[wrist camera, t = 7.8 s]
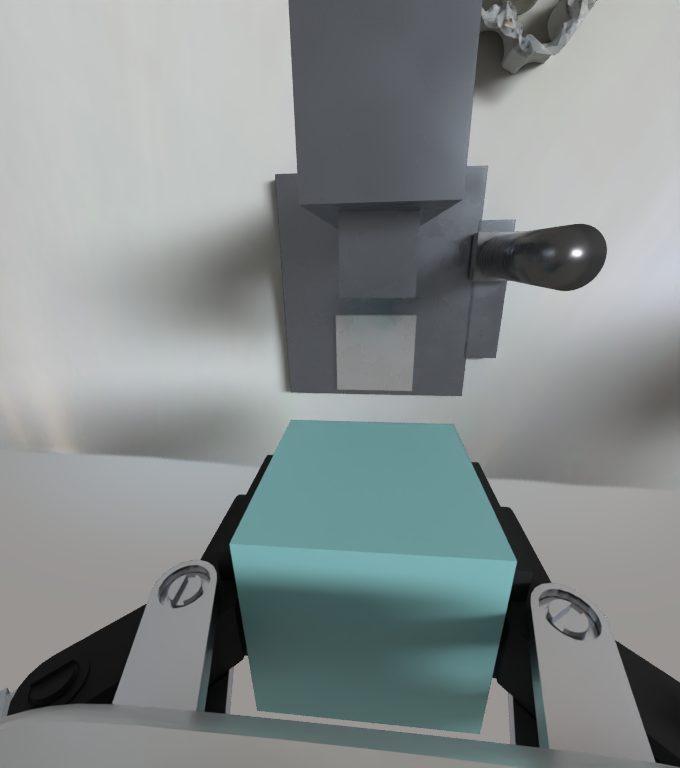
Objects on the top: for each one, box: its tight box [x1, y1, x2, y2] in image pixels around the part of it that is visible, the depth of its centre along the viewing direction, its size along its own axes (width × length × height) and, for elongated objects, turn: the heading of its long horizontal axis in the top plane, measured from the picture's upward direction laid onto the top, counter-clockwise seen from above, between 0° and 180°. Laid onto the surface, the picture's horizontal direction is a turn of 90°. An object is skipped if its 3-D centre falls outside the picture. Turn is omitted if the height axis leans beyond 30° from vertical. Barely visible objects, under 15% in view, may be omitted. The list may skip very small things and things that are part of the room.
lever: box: [469, 224, 607, 291], centre depth 19 cm, size 3×3×10 cm
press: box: [275, 0, 516, 396], centre depth 18 cm, size 16×16×18 cm
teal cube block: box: [230, 420, 517, 734], centre depth 9 cm, size 5×5×5 cm
